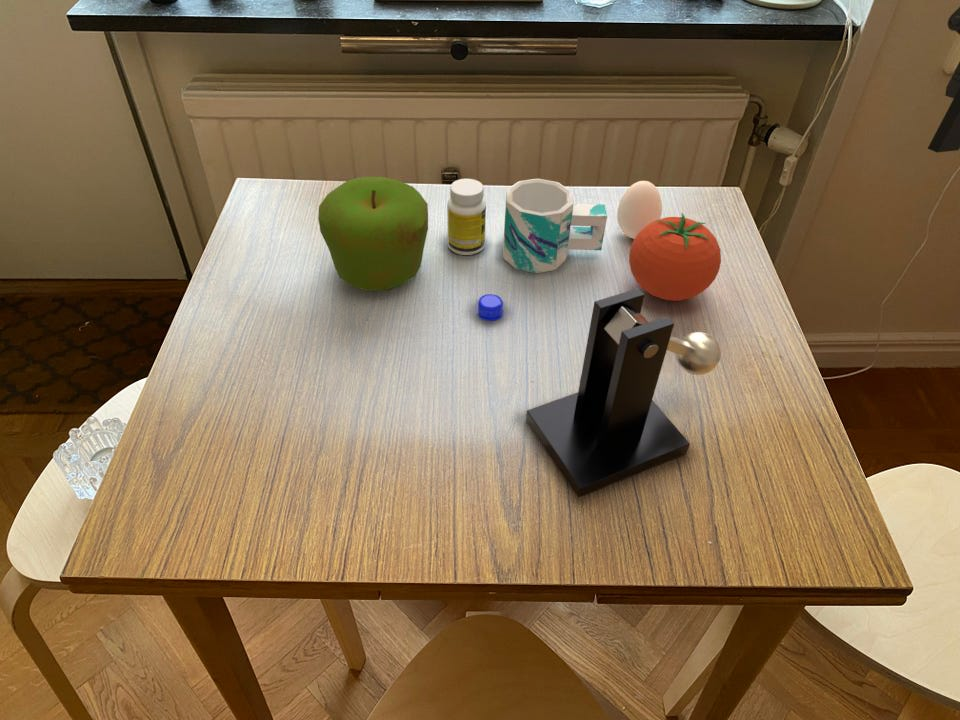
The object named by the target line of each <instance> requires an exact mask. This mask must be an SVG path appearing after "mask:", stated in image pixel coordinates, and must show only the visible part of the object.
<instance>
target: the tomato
mask: <svg viewBox="0 0 960 720" xmlns="http://www.w3.org/2000/svg"><path fill="white" fill-rule="evenodd" d="M705 224H706V222H700V221H696V220H695V219H692V218H691V219H690V218H687V217H686V216H685V215H684V213H683V212H681V216H666V217H661V218H660V219H659V220H655V221H653V222H651V223H649V224H648V225H646V226H645V227H644V228H643V229H642V230H641V231H640V232H639V233H638V234H637V236H636V237H635V239H633V241H632V242H631V246H630V249H629V256H628V257H629V259H628V262H629V267H630V268H629V269H630V272H631V274H632V276H633V278H634V280H635V282H636V283H637V284H638V285H639V287H641V288H642V290H644V291H645V292H646V293H648V294H650V295H651V296H652V297H655V298H658V299H662V300H664V301H677V302H678V301H684V300H688V299H691V298H694V297H696V296H698V295H700V294H702V293H703V292H705V291H706V290H707V289H708V288H709V287H710V286H711V285H712V284H713V283H714V281H715V280H716V278H717V276H718V274H719V271H720V269H721V263H722V253H721V248H720V245H719V242H718V240H717V237H716V236H715V235H714V233H712V231H711V230H710V229H709V228H707V226H705Z"/></svg>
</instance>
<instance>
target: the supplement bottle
mask: <svg viewBox="0 0 960 720" xmlns="http://www.w3.org/2000/svg"><path fill="white" fill-rule="evenodd" d="M484 189H485V188H484V185H483V183H482V182H480V181H478V180H477V179H475V178H474V179H473V178H460V179H457V180H455V181H453V182H452V183H451V184H450V187H449V190H450V191H449V199H448V200H447V205H446V207H447V208H446V209H447V210H446V212H447V213H446V217H447V220H446V222H447V224H446V225H447V246H448V248H449V249H450V250H451V251H452V252H453V253H454V254H458V255H461V256H471V255H475V254H478V253H479V252H481V251H482V250H484V247H485V243H486V242H485V241H486V216H487V215H486V214H487V213H486V212H487V203H486V200H485V199H484V196H485V193H484V192H485V191H484Z"/></svg>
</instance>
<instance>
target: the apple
mask: <svg viewBox="0 0 960 720" xmlns="http://www.w3.org/2000/svg"><path fill="white" fill-rule="evenodd" d="M428 205H429V204H428V202H427V201H426V200H425V199H424V197H423V195H422V194H421V193H420V192H419V191H418V190H417V188H415V187H414V186H412V185H410V184H408V183H405V182H404V181H401V180H399V179H393V178H389V177H384V176H362V177H357V178H352V179H347V180H346V181H344V182H343V183H342V184H340V185H339V186H337V187H336V188H334V189H333V190H331V191H330V192H328V193H327V194H326V195H325V197H324V198H323V200H322V201H321V203H320V204H319V205H318V217H317V219H318V220H317V221H318V225H319V231H320V234H321V236H322V238H323V240H324V242H325V244H326V246H327V249H328V250H329V254H330V257H331V260H332V263H333V266H334V269H335V271H336V273H337V275H338V277H339V278H340V279H341V280H342V281H343V282H345V283H346V284H347V285H348V286H350V287H353V288H357V289H360V290H365V291H387V290H389V289H393V288H396V287H399V286H402V285H403V284H405V283H407V282H409V281H411V280H412V279H414V278H415V277H416V276H417V274H418V272H419V270H420V269H421V267H422V262H423V261H422V260H423V255H424V250H425V245H426V240H427V235H428V230H429V206H428Z"/></svg>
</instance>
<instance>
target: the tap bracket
mask: <svg viewBox="0 0 960 720" xmlns="http://www.w3.org/2000/svg"><path fill="white" fill-rule="evenodd" d="M645 296H646V294H645V293H644V292H643V291H642V290H641V289H640V288H639V287H637V288H634V289H631V290H628V291H624V292H621V293H618V294H614V295H611V296H608V297H605V298H601V299H598V300H595V301H594V303H593V308H592V313H591V319H590V325H589V328H588V329H589V330H588V334H587V335H588V336H587V341H586V347H585V352H584V357H583V362H582V363H583V364H582V369H581V374H580V380H579V385H578V391H577V392H575V393H573V394H570V395H569V394H568V395H567V396H563V397H561V398H557V399H556V400H555V399H554V400H553V401H550V402H547V403H544V404H541V405H538V406H536V407H533V408H530V409H527V410H526V414H525V421H526V423H527V424H528V426H529V427H530V429H531V430H532V431H533V433H534V435H535V436H536V437H537V439H538V441H539V442H540V443H541V445H542V446H543V448H544V450H545V451H546V452H547V453H548V455H549V456H550V458H551V459H552V461H553V462H554V464H555V465H556V467H557V468H558V469H559V471H560V473H561V474H562V475H563V477H564V478H565V480H566V481H567V483H568V485H569V486H570V487H571V489H572V490H573V492H574V493H575V495H576V496H577V497H578V498H581V497H583V496H586V495H589V494H591V493H593V492H596V491H598V490H601V489H604V488H605V487H608V486H610V485H613V484H615V483H618V482H621V481H622V480H626V479H627V478H630V477H632V476H636V475H637V474H640V473H642V472H645V471H648V470H650V469H652V468H654V467H657V466H659V465H662V464H664V463H666V462H669V461H672V460H673V459H676V458H679V457H681V456H683V455H686V454H687V453H688V450H689V448H690V445H691V443H690V441H689V440H688V439H687V438H686V437H685V436H684V435H683V434H682V432H681V431H680V430H679V429H678V428H677V426H676V425H675V424H674V423H673V422H672V421H671V420H670V419H669V417H668V416H667V415H666V414H665V413H664V412H663V411H662V409H661V408H660V407H659V406H658V405H657V404H656V402H655V401H654V400H653V399H654V395H655V392H656V388H657V385H658V383H659V382H658V381H659V378H660V374H661V371H662V368H663V364H664V362H665V357H666V355H667V351H668V350H667V347H668V344H669V340H670V337H671V336H672V334H673V329H674V328H675V327H674V326H675V323H674V322H673V321H672V320H671V319H670V318H669V317H668V316H664V317H662V318H659V319H655V320H653V321H648V322H649V323H646V324H643V325H640V326H637V327H634V328H631V329H628V330H625V331H622V332H621V337H620V341H619V345H618V343H617V342H616V341H615V340H614V339H613V338H612V337H611V336H610V334H609V333H608V332H607V331H606V330H605V329H604V328H605V327H606V325H607V324H608V323H609V322H610V320H611V319H612V318H613V317H614V315H615V314H616V313H617V312H618V310H619V309H620V308H621V307H625V308H628V309H630V310H633V311H635V312H638V313H640V314H642V313H641V312H642V309H643V305H644V301H645Z"/></svg>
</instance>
